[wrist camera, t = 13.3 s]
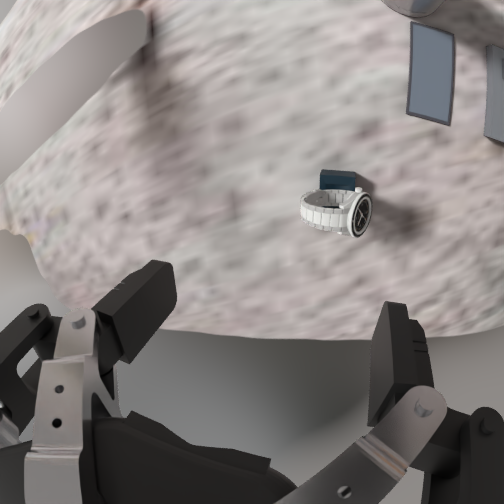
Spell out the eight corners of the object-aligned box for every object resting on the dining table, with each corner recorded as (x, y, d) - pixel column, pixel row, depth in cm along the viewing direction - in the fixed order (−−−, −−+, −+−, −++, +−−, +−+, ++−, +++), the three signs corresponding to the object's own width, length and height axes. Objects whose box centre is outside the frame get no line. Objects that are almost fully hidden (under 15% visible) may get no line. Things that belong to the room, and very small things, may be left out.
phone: (404, 113, 30) (406, 113, 30) (409, 23, 24) (411, 20, 23) (446, 124, 29) (449, 125, 28) (451, 35, 23) (454, 34, 22)
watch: (366, 213, 38) (371, 250, 28) (307, 208, 40) (294, 242, 31) (369, 172, 35) (378, 196, 26) (308, 167, 37) (295, 189, 28)
